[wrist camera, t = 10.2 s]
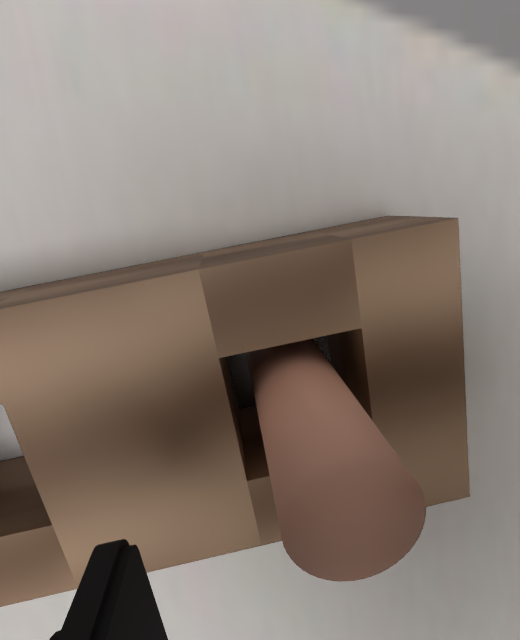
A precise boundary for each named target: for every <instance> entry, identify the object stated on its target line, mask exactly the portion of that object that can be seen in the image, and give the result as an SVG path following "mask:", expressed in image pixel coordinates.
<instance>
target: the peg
mask: <svg viewBox="0 0 520 640" xmlns="http://www.w3.org/2000/svg"><path fill="white" fill-rule="evenodd" d="M247 360H248V365H249V370H250V375H251V381H252V386H253V391H254V396H255V402H256V407H257V412H258V417H259V422H260V428H261V433H262V438H263V443H264V449H265V454H266V459H267V464H268V470H269V475H270V480H271V485H272V490H273V496H274V501H275V506H276V511H277V517H278V522H279V527H280V532H281V537H282V541H283V545H284V547H285V549H286V552H287V554H288V555H289V556H290V558H291V559H292V560H293V562H294V563H295V564H296V565H297V566H299V567H300V568H301V569H302V570H304V571H306V572H307V573H309V574H311V575H313V576H316V577H318V578H322V579H326V580H332V581H354V580H359V579H364V578H367V577H371V576H373V575H376V574H378V573H381V572H383V571H384V570H386V569H388V568H390V567H391V566H393V565H394V564H396V563H397V562H398V561H399V560H401V559H402V558H403V557H404V556H405V555H406V554H407V553H408V552H409V551H410V549H411V548H412V547H413V545H414V544H415V542H416V541H417V539H418V538H419V535H420V533H421V531H422V528H423V525H424V522H425V515H426V505H425V498H424V495H423V492H422V489H421V488H420V486H419V484H418V482H417V481H416V480H415V478H414V477H413V475H412V474H411V473H410V471H409V470H408V469H407V467H406V466H405V465H404V463H403V462H402V460H401V459H400V458H399V456H398V455H397V454H396V452H395V451H394V450H393V448H392V447H391V445H390V444H389V443H388V441H387V440H386V439H385V437H384V436H383V435H382V433H381V432H380V430H379V429H378V428H377V426H376V425H375V424H374V422H373V421H372V420H371V418H370V417H369V415H368V414H367V413H366V411H365V410H364V409H363V407H362V406H361V405H360V403H359V402H358V400H357V399H356V398H355V396H354V395H353V394H352V392H351V391H350V390H349V388H348V387H347V385H346V384H345V383H344V381H343V380H342V379H341V377H340V376H339V375H338V373H337V372H336V370H335V369H334V368H333V366H332V365H331V364H330V362H329V361H328V360H327V358H326V357H325V355H324V354H323V353H322V351H321V350H320V349H319V347H318V346H317V345H316V343H315V342H314V340H313V339H308V340H303V341H298V342H293V343H288V344H284V345H279V346H274V347H269V348H265V349H260V350H255V351H250V352H247Z"/></svg>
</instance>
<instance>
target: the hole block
mask: <svg viewBox="0 0 520 640" xmlns="http://www.w3.org/2000/svg"><path fill="white" fill-rule="evenodd" d="M322 336H327V339H328V346H329V353H330V360H331V365H332V366H333V368H334V369H335V370H336V372H337V373H338V375H339V376H340V377H341V379H342V380H343V381H344V383H345V384H346V385H347V387H348V388H349V390H350V391H351V392H352V394H353V395H354V396H355V398H356V399H357V400H358V402H359V403H360V405H361V406H362V407H363V409H364V410H365V411H366V413H367V414H368V415H369V417H370V418H371V420H372V421H373V422H374V424H375V425H376V426H377V428H378V429H379V430H380V432H381V433H382V435H383V436H384V437H385V439H386V440H387V441H388V443H389V444H390V445H391V447H392V448H393V450H394V451H395V452H396V454H397V455H398V456H399V458H400V459H401V460H402V462H403V463H404V465H405V466H406V467H407V469H408V470H409V471H410V473H411V474H412V475H413V477H414V478H415V480H416V481H417V482H418V484H419V486H420V488H421V489H422V492H423V495H424V498H425V505H426V507H427V506H432V505H436V504H440V503H444V502H449V501H453V500H457V499H461V498H466V497H470V493H469V469H468V445H467V420H466V396H465V372H464V348H463V323H462V299H461V275H460V251H459V226H458V218H442V217H410V216H385V217H380V218H374V219H369V220H364V221H359V222H354V223H349V224H344V225H339V226H334V227H329V228H324V229H318V230H313V231H308V232H303V233H298V234H293V235H288V236H283V237H278V238H273V239H268V240H263V241H257V242H252V243H247V244H242V245H237V246H232V247H227V248H222V249H217V250H212V251H207V252H201V253H196V254H191V255H186V256H181V257H176V258H171V259H166V260H161V261H156V262H151V263H146V264H140V265H135V266H130V267H125V268H120V269H115V270H110V271H105V272H100V273H95V274H90V275H85V276H79V277H74V278H69V279H64V280H59V281H54V282H49V283H44V284H39V285H34V286H29V287H23V288H18V289H13V290H8V291H3V292H0V404H3V406H4V408H5V411H6V413H7V415H8V418H9V420H10V423H11V425H12V428H13V430H14V433H15V435H16V438H17V440H18V442H19V445H20V447H21V450H22V452H23V455H24V456H23V457H18V458H14V459H9V460H5V461H0V607H2V606H6V605H10V604H15V603H19V602H23V601H28V600H32V599H36V598H40V597H45V596H49V595H53V594H57V593H62V592H66V591H70V590H74V589H78V587H79V584H80V582H81V579H82V576H83V574H84V571H85V569H86V566H87V564H88V561H89V559H90V556H91V554H92V551H93V550H94V548H95V546H97V545H99V544H103V543H108V542H112V541H117V540H121V539H126V540H127V541H128V543H129V545H137V546H138V549H139V552H140V555H141V558H142V561H143V564H144V567H145V570H146V573H147V572H151V571H155V570H159V569H164V568H168V567H172V566H176V565H181V564H185V563H189V562H193V561H198V560H202V559H206V558H210V557H215V556H219V555H223V554H227V553H232V552H236V551H240V550H244V549H249V548H253V547H257V546H261V545H266V544H270V543H274V542H278V541H282V537H281V532H280V527H279V522H278V517H277V511H276V506H275V501H274V496H273V490H272V485H271V480H270V475H269V470H268V464H267V459H266V454H265V449H264V443H263V438H262V433H261V428H260V422H259V417H258V412H257V407H256V406H253V407H249V408H244V409H239V407H238V403H237V398H236V394H235V389H234V385H233V380H232V376H231V371H230V367H229V362H228V358H227V356H231V355H236V354H241V353H246V352H250V351H255V350H260V349H265V348H269V347H274V346H279V345H284V344H288V343H293V342H298V341H303V340H308V339H312V338H317V337H322Z"/></svg>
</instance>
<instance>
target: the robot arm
mask: <svg viewBox="0 0 520 640" xmlns="http://www.w3.org/2000/svg"><path fill="white" fill-rule="evenodd" d="M50 640H168V638H167V635H166V632H165V629H164V626H163V623H162V620H161V617H160V613H159V610H158V607H157V604H156V601H155V598H154V595H153V592H152V589H151V586H150V582H149V579H148V576H147V573H146V570H145V567H144V564H143V561H142V558H141V555H140V552H139V549H138V546H137V545H129V543H128V541H127V540H126V539H121V540H117V541H112V542H108V543H103V544H99V545H97V546H95V548H94V550H93V551H92V554H91V556H90V559H89V561H88V564H87V566H86V569H85V571H84V574H83V576H82V579H81V582H80V584H79V587H78V589H77V592H76V594H75V597H74V599H73V602H72V604H71V607H70V609H69V612H68V614H67V617H66V619H65V622H64V624H63V627H62V629H61V630H60V631H57V632H55V634H54V635H53V636H52V637H51V638H50Z"/></svg>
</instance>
